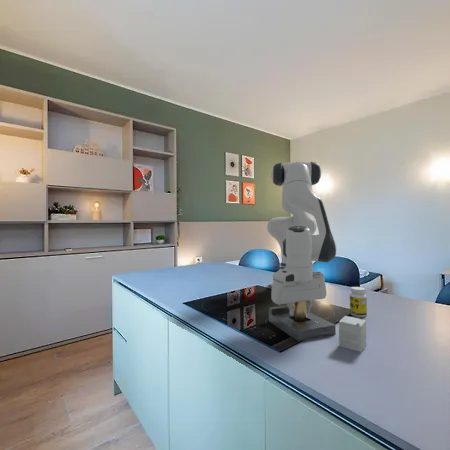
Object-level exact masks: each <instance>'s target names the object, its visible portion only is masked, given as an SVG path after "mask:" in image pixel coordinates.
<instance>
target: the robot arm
mask: <svg viewBox="0 0 450 450" xmlns="http://www.w3.org/2000/svg"><path fill="white" fill-rule="evenodd" d="M270 173H271V174H270V175H271V176H270V177H271V181H272V183H273V184H274V185H275V186H278V187H282V190H281V191H282V192H281V208H282V209H283V210H284V211H285V212H287V213H288V214H291V215H292V216H277V217H273V218H270V219H269V221H268V222H267V225H266V229H267V233H268V234H269V235H270V236H271V237H272V238H274V239H275V240H276V242H277V243H278V245H279V248H280V253H281V254H280V256H281V262H279V268H278V270H277V271H276V272H273V274H272V282H271V281H270V282H269V283H268V285H269V286H270V287H271V292H270V293H271V294H270V295H271V301H272V302H273V303H274V304H276V305H277V306H282V305H287V307H288V308H289V311H290V315H291V316H294V315H296V310H294V309H293V307H292V306H293V303H295V302H300V301H307V313H311V308H312V306H313V304H314V301H315V300H316V301H317V300H323V299H326V297H327V287H326V281H325V274H324V273H322V272H321V271H313V269H314V268H313V267H314V265H313V262H317V263H329V262H330V261H332V260H333V259H334V258H335V257H336V255H337V244H336V241H335V239H334V236H333V234H332V231H331V228H330V223H329V220H328V216H327V212H326V210H325V206H324V203H323V201H322V198H321V197H319V196H318V195H316V194H315V192H314V191H313V187H312V186H314V185H316V184H319V182H320V179H321V177H322V169H321V165H320V164H319V163H318V162H315V161H310V162H309V161H289V162H288V161H287V162H284V163H283V162H278V163H275V164H274V165H273V167H272V170H271V172H270ZM310 215H312V216H313V217H311V216H310ZM317 230H318V234H315V232H316V231H317Z"/></svg>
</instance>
